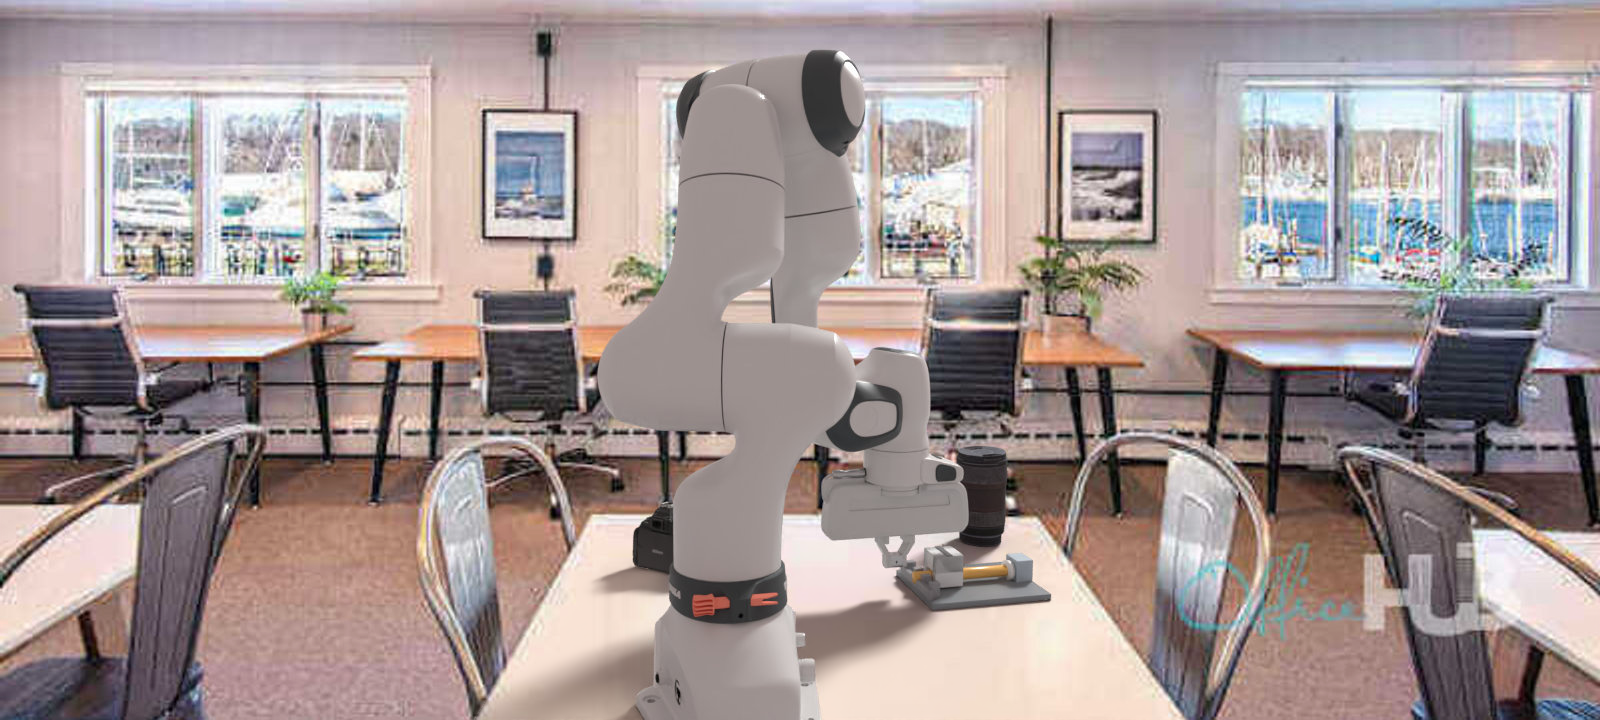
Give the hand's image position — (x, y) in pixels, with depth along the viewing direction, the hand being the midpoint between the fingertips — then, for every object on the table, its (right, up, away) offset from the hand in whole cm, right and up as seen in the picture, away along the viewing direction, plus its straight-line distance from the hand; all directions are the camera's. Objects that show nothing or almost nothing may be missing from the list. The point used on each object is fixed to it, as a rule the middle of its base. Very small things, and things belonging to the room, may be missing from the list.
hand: (894, 566), depth 128 cm
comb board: (+11, -4, +3) cm, 12 cm away
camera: (-31, -3, +10) cm, 32 cm away
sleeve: (+7, -3, +2) cm, 8 cm away
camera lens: (+16, -1, +25) cm, 30 cm away
